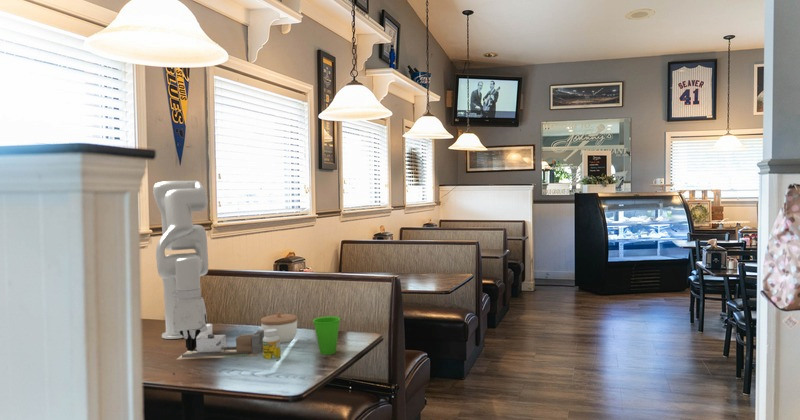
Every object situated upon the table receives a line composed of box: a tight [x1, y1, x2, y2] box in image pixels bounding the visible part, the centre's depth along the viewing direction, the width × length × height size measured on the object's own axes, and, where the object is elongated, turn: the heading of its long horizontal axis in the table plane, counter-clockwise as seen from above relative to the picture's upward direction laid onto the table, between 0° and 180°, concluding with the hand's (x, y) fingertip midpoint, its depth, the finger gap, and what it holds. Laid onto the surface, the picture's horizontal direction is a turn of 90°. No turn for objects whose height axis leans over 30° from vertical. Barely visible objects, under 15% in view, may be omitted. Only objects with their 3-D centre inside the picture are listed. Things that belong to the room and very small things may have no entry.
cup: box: [312, 315, 341, 356], centre depth 183 cm, size 9×9×11 cm
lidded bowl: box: [260, 311, 298, 344], centre depth 198 cm, size 13×13×11 cm
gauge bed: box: [176, 329, 264, 360], centre depth 184 cm, size 12×26×7 cm, turn 90°
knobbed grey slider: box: [196, 333, 227, 353], centre depth 183 cm, size 7×8×6 cm
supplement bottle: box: [262, 329, 282, 362], centre depth 177 cm, size 5×5×10 cm
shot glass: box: [196, 323, 213, 339], centre depth 200 cm, size 7×7×7 cm
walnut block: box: [235, 333, 254, 353], centre depth 184 cm, size 5×5×5 cm
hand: (191, 349), depth 184 cm, fingers closed
